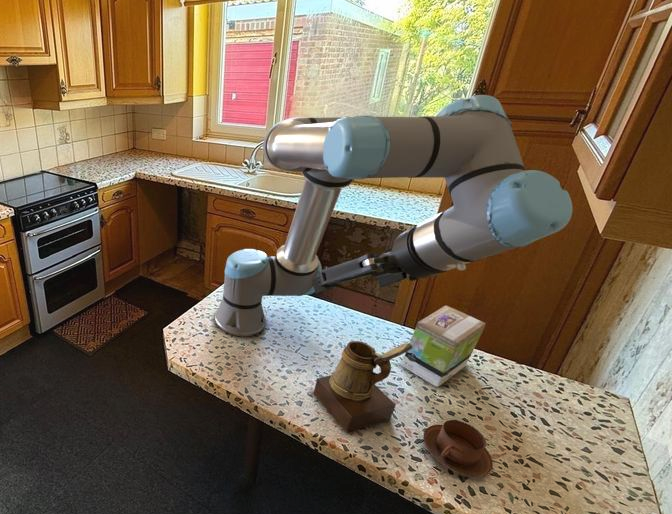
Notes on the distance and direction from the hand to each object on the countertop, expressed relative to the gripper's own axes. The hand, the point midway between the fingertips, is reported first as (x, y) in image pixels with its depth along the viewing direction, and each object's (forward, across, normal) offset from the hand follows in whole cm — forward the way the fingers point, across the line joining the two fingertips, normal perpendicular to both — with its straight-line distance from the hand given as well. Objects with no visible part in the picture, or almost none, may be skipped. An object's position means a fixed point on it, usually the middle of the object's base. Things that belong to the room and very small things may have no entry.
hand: (347, 283), depth 77 cm
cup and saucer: (+15, +23, -36) cm, 45 cm away
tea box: (+32, +40, -19) cm, 54 cm away
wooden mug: (+22, +10, -22) cm, 33 cm away
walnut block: (+26, +10, -25) cm, 37 cm away
